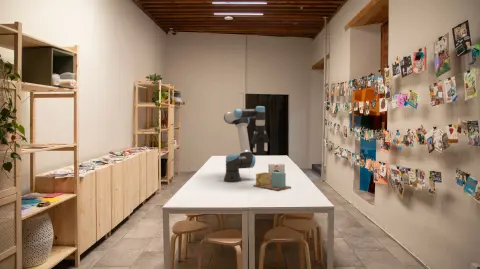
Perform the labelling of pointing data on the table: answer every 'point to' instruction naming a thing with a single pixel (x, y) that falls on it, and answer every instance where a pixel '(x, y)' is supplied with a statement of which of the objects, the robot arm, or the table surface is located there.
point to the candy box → (276, 169)
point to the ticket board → (269, 186)
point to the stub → (278, 179)
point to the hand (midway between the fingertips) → (260, 151)
